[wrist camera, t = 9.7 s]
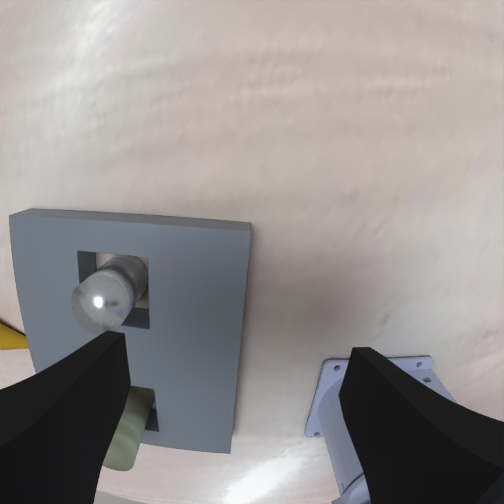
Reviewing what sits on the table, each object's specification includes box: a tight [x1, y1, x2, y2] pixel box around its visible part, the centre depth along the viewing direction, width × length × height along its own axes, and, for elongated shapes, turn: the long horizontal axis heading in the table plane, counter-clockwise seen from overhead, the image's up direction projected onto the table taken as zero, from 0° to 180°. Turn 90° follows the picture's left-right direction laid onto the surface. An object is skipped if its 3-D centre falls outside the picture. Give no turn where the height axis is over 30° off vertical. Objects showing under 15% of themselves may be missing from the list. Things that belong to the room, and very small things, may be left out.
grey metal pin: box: [71, 254, 148, 335], centre depth 17 cm, size 3×3×5 cm
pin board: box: [9, 209, 251, 454], centre depth 20 cm, size 15×17×2 cm
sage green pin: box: [103, 385, 155, 471], centre depth 19 cm, size 3×3×7 cm
